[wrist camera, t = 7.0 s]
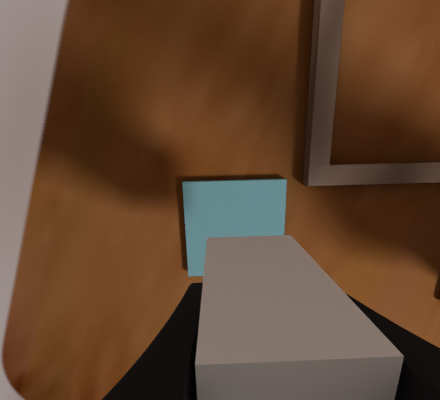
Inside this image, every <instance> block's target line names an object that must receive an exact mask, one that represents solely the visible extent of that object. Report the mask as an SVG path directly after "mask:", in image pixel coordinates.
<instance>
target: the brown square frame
mask: <svg viewBox="0 0 440 400" xmlns="http://www.w3.org/2000/svg"><path fill="white" fill-rule="evenodd" d="M344 3H345V0H314V13H313V29H312V44H311V60H310V75H309V91H308V106H307V122H306V137H305V153H304V168H303V185H306V186H329V185H365V184H401V183H436V182H440V162H410V163H372V164H334V165H330V155H331V144H332V133H333V122H334V111H335V101H336V90H337V79H338V68H339V57H340V46H341V35H342V25H343V14H344Z"/></svg>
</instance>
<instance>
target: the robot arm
mask: <svg viewBox="0 0 440 400" xmlns="http://www.w3.org/2000/svg"><path fill="white" fill-rule="evenodd" d="M202 286H203V283H192V284H191V285H190V286H189V287H188V289H187V291H186V293H185V295H184V296H183V298H182V300H181V301H180V303H179V304H178V306H177V308H176V309H175V311H174V312H173V314H172V315H171V317H170V318H169V320H168V321H167V323H166V324H165V325H164V327H163V328H162V329H161V331H160V332H159V333H158V335H157V336H156V337H155V339H154V340H153V341H152V343H151V344H150V345H149V347H148V348H147V349H146V350H145V352H144V353H143V354H142V355H141V357H140V358H139V359H138V360H137V361H136V362H135V364H134V365H133V366H132V367H131V368H130V369H129V371H128V372H127V373H126V374H125V375H124V376H123V377H122V379H121V380H120V381H119V382H118V383H117V384H116V385H115V386H114V387H113V388H112V389H111V390H110V391H109V393H108V394H107V395H106V396H105V397H104V398H103V399H102V400H197V388H196V372H195V360H196V350H197V339H198V329H199V318H200V307H201V297H202ZM345 294H346V293H345ZM346 295H347V294H346ZM347 296H348V297H349V298H350V299H351V300H352V301H353V302H354V303H355V304H356V306H357V307H358V308H359V309H360V310H361V311H362V312H363V313H364V314H365V315H366V316H367V317H368V318H369V319H370V320H371V322H372V323H373V324H374V325H375V326H376V327H377V328H378V329H379V330H380V331H381V332H382V333H383V334H384V335H385V336H386V338H387V339H388V340H389V341H390V342H391V343H392V344H393V345H394V346H395V347H396V348H397V349H398V350H399V351H400V352H401V354H402V355H403V356H404V358H403V363H402V368H401V372H400V377H399V382H398V386H397V391H396V395H395V400H440V348H438V347H436V346H434V345H433V344H431V343H429V342H427V341H425V340H423V339H422V338H420V337H418V336H416V335H414V334H413V333H411V332H409V331H407V330H406V329H404V328H402V327H400V326H399V325H397V324H395V323H393V322H392V321H390V320H388V319H387V318H385V317H383V316H382V315H380V314H378V313H377V312H375V311H373V310H372V309H370V308H368V307H367V306H365V305H363V304H362V303H360V302H359V301H357V300H355V299H354V298H352V297H351V296H349V295H347Z"/></svg>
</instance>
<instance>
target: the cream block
mask: <svg viewBox="0 0 440 400" xmlns="http://www.w3.org/2000/svg"><path fill="white" fill-rule="evenodd" d="M403 358H404V356H403V355H402V354H401V352H400V351H399V350H398V349H397V348H396V347H395V346H394V345H393V344H392V343H391V342H390V341H389V340H388V339H387V338H386V336H385V335H384V334H383V333H382V332H381V331H380V330H379V329H378V328H377V327H376V326H375V325H374V324H373V323H372V322H371V320H370V319H369V318H368V317H367V316H366V315H365V314H364V313H363V312H362V311H361V310H360V309H359V308H358V307H357V306H356V304H355V303H354V302H353V301H352V300H351V299H350V298H349V297H348V296H347V295H346V294H345V293H344V292H343V291H342V290H341V288H340V287H339V286H338V285H337V284H336V283H335V282H334V281H333V280H332V279H331V278H330V277H329V276H328V275H327V273H326V272H325V271H324V270H323V269H322V268H321V267H320V266H319V265H318V264H317V263H316V262H315V261H314V260H313V259H312V257H311V256H310V255H309V254H308V253H307V252H306V251H305V250H304V249H303V248H302V247H301V246H300V245H299V244H298V243H297V241H296V240H295V239H294V238H293V237H292V236H291V235H280V236H247V237H215V238H207V244H206V255H205V265H204V276H203V286H202V297H201V307H200V318H199V329H198V339H197V350H196V360H195V372H196V388H197V400H395V395H396V391H397V386H398V382H399V377H400V372H401V368H402V363H403Z"/></svg>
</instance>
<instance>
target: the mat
mask: <svg viewBox="0 0 440 400" xmlns="http://www.w3.org/2000/svg"><path fill="white" fill-rule="evenodd" d="M286 185H287V179H248V180H212V181H183V182H182V186H183V201H184V217H185V232H186V247H187V262H188V276H204V265H205V255H206V244H207V238H215V237H247V236H280V235H284V227H285V206H286Z"/></svg>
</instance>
